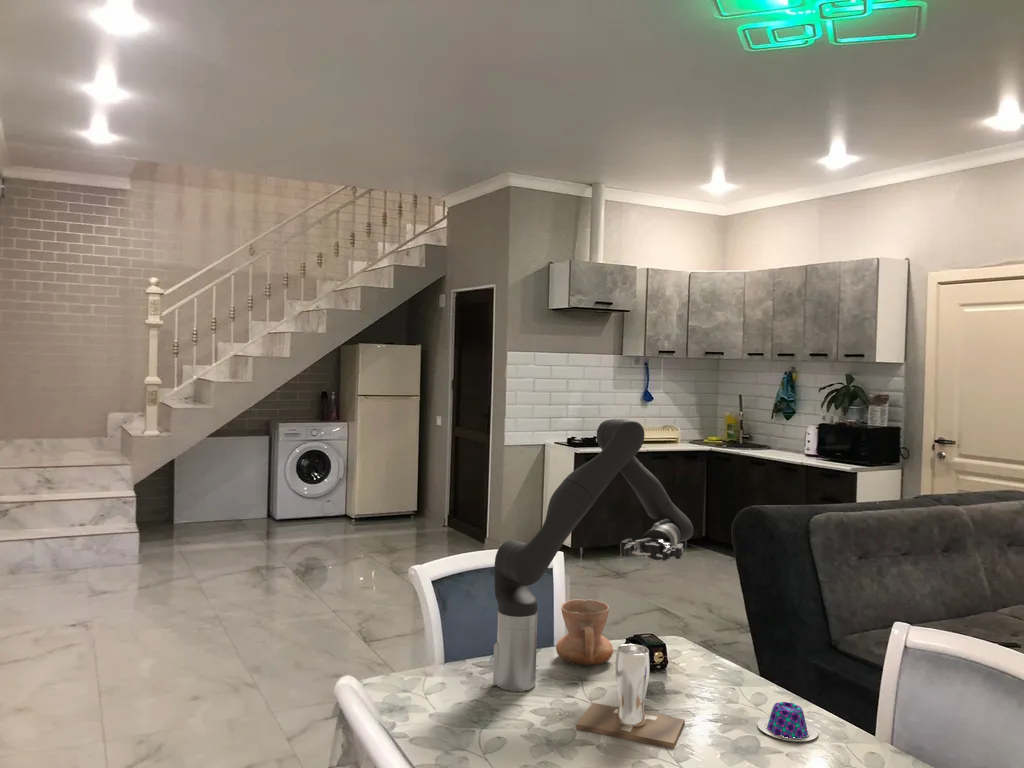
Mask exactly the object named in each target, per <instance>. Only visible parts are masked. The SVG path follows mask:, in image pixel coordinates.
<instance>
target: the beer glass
mask: <svg viewBox="0 0 1024 768" xmlns="http://www.w3.org/2000/svg"><path fill="white" fill-rule="evenodd" d="M649 680H650V649H649V648H648V647H646V646H643V645H640V644H633V643H625V644H624V643H623V644H620V645H619V646H617V647H616V657H615V682H616V688H617V689H616V690H617V696H618V706H617V707H618V712H617V717H616V720H617V722H618V723H619V724H621V725H623V726H627V727H641V726H643V725H645V723H646V717H645V712H646V711H645V702H646V696H647V691H648V685H649Z"/></svg>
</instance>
